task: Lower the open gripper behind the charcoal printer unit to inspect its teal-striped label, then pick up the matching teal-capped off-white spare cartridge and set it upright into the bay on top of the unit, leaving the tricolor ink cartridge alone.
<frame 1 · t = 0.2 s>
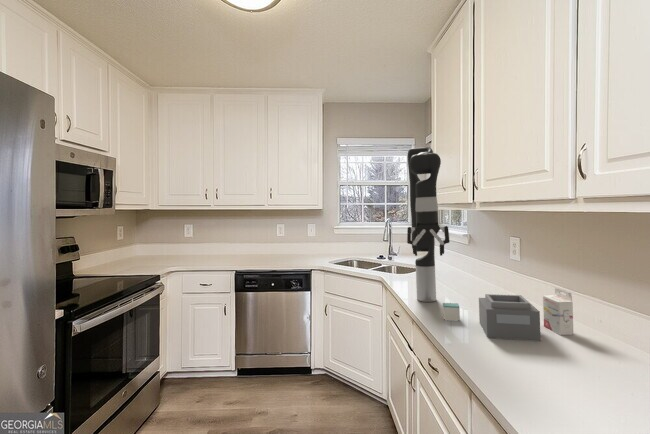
hand: (428, 255, 111), 29 cm above the worktop, fingers open, 8 cm apart
spare cartridge: (451, 319, 127), on the worktop
printer unit: (507, 331, 112), on the worktop
ink cartridge box: (558, 331, 111), on the worktop
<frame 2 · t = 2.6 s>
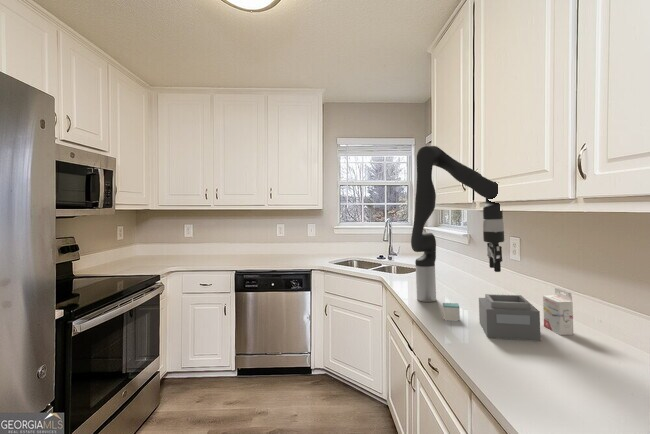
hand: (495, 269, 127), 19 cm above the worktop, fingers open, 8 cm apart
nothing on the worktop moved.
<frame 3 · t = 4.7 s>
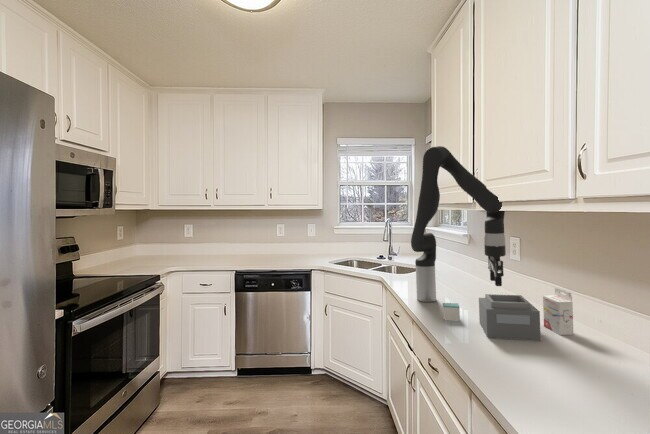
hand: (495, 283, 127), 14 cm above the worktop, fingers open, 8 cm apart
nothing on the worktop moved.
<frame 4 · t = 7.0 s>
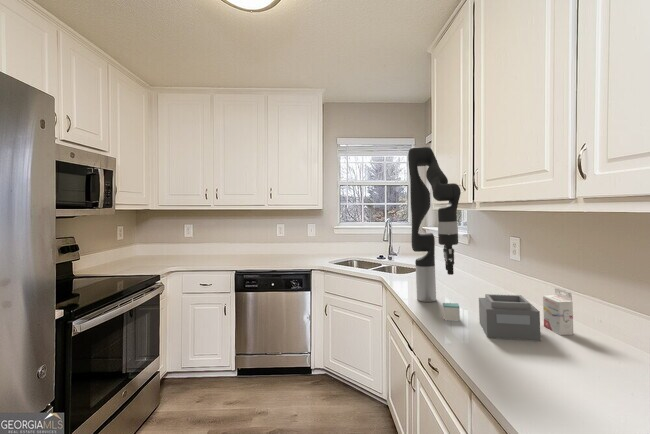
hand: (449, 272, 126), 19 cm above the worktop, fingers open, 8 cm apart
nothing on the worktop moved.
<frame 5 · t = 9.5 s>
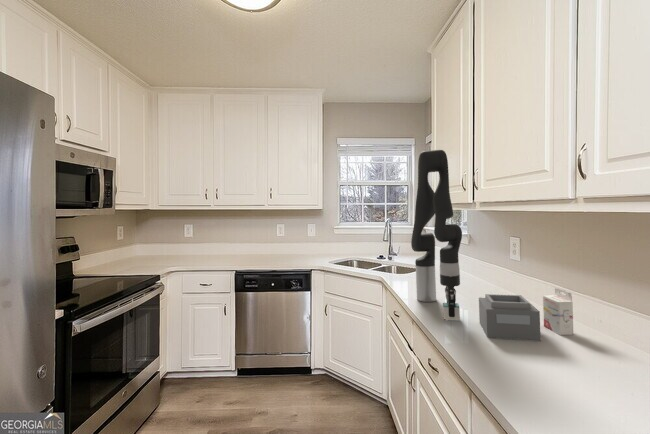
hand: (451, 314, 127), 2 cm above the worktop, fingers closed on spare cartridge, 4 cm apart
spare cartridge: (451, 318, 127), on the worktop, touching gripper
everything else where it was.
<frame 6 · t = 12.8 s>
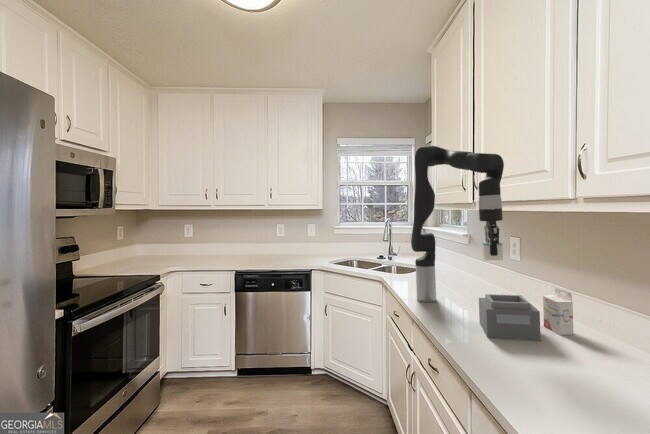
hand: (492, 254, 113), 28 cm above the worktop, fingers closed on spare cartridge, 4 cm apart
spare cartridge: (492, 259, 114), point 26 cm above the worktop, touching gripper
everything else where it was.
when the fingers open (13 cm above the worktop, at t = 16.2 s): spare cartridge drops 1 cm, resting on printer unit.
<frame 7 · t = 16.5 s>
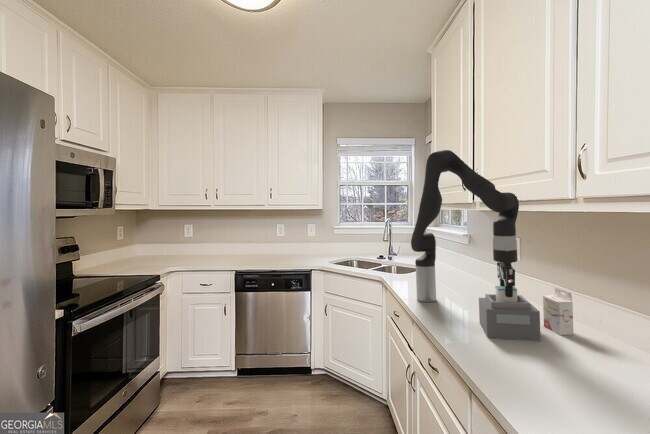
hand: (506, 294, 111), 14 cm above the worktop, fingers open, 6 cm apart
spare cartridge: (506, 304, 112), point 10 cm above the worktop, touching printer unit
everything else where it was.
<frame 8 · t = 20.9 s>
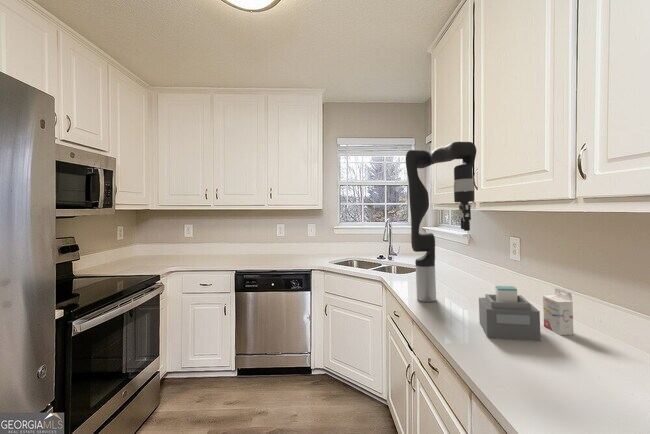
hand: (465, 229, 128), 36 cm above the worktop, fingers open, 8 cm apart
nothing on the worktop moved.
at the end: spare cartridge 0.1 cm off-centre on the printer unit, point 10.0 cm above the printer unit's base; spare cartridge tilted 0°; the gripper is holding nothing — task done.
